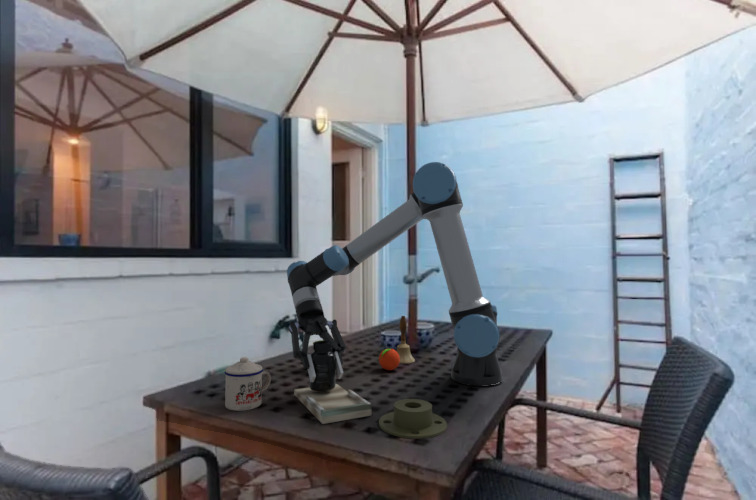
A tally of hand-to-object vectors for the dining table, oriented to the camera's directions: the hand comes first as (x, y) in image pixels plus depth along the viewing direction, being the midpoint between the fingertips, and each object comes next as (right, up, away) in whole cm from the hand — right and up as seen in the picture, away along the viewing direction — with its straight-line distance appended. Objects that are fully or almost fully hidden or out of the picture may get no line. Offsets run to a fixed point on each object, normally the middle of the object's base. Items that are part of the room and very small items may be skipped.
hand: (327, 377), depth 110 cm
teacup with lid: (-19, -6, -2) cm, 20 cm away
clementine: (+16, -7, +31) cm, 36 cm away
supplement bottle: (-2, -4, +3) cm, 5 cm away
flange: (+21, -7, -14) cm, 26 cm away
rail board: (+1, -6, -2) cm, 7 cm away
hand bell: (+22, -7, +44) cm, 49 cm away
